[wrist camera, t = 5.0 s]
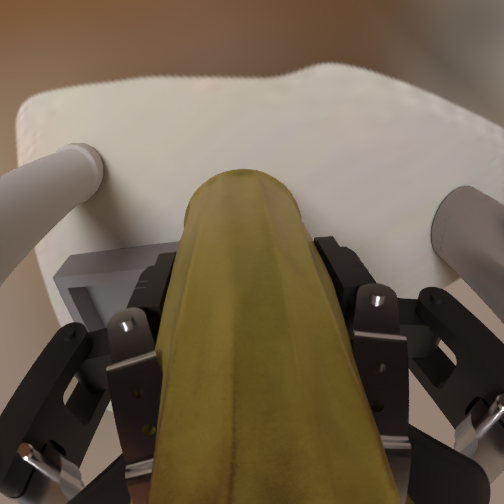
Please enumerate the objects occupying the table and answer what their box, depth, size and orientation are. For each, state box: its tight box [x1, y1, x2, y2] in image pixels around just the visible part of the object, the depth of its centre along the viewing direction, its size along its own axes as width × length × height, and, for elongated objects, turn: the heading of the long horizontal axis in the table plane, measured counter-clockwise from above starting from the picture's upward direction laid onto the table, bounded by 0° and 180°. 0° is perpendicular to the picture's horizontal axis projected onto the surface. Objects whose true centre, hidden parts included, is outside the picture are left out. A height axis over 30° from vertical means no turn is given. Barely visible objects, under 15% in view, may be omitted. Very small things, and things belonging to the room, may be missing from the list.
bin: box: [53, 242, 179, 332], centre depth 27 cm, size 16×16×4 cm
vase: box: [130, 169, 415, 504], centre depth 9 cm, size 6×6×14 cm
